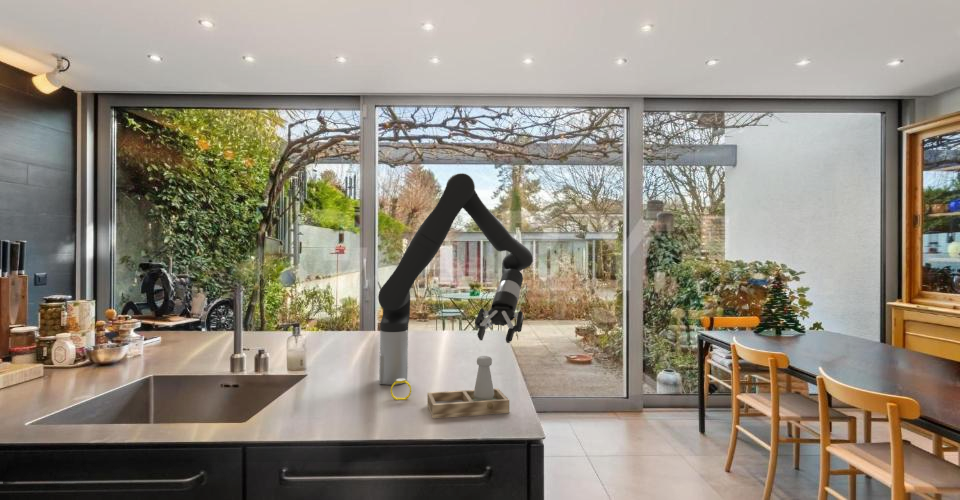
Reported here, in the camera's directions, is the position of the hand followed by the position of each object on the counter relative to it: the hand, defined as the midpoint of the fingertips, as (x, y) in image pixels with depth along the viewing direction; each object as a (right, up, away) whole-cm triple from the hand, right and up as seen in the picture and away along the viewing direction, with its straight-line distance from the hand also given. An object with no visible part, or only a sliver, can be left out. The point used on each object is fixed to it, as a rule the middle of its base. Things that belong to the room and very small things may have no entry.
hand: (493, 340), depth 139 cm
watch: (-27, -18, 0) cm, 33 cm away
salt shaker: (-3, -17, -6) cm, 18 cm away
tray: (-8, -18, -8) cm, 21 cm away
